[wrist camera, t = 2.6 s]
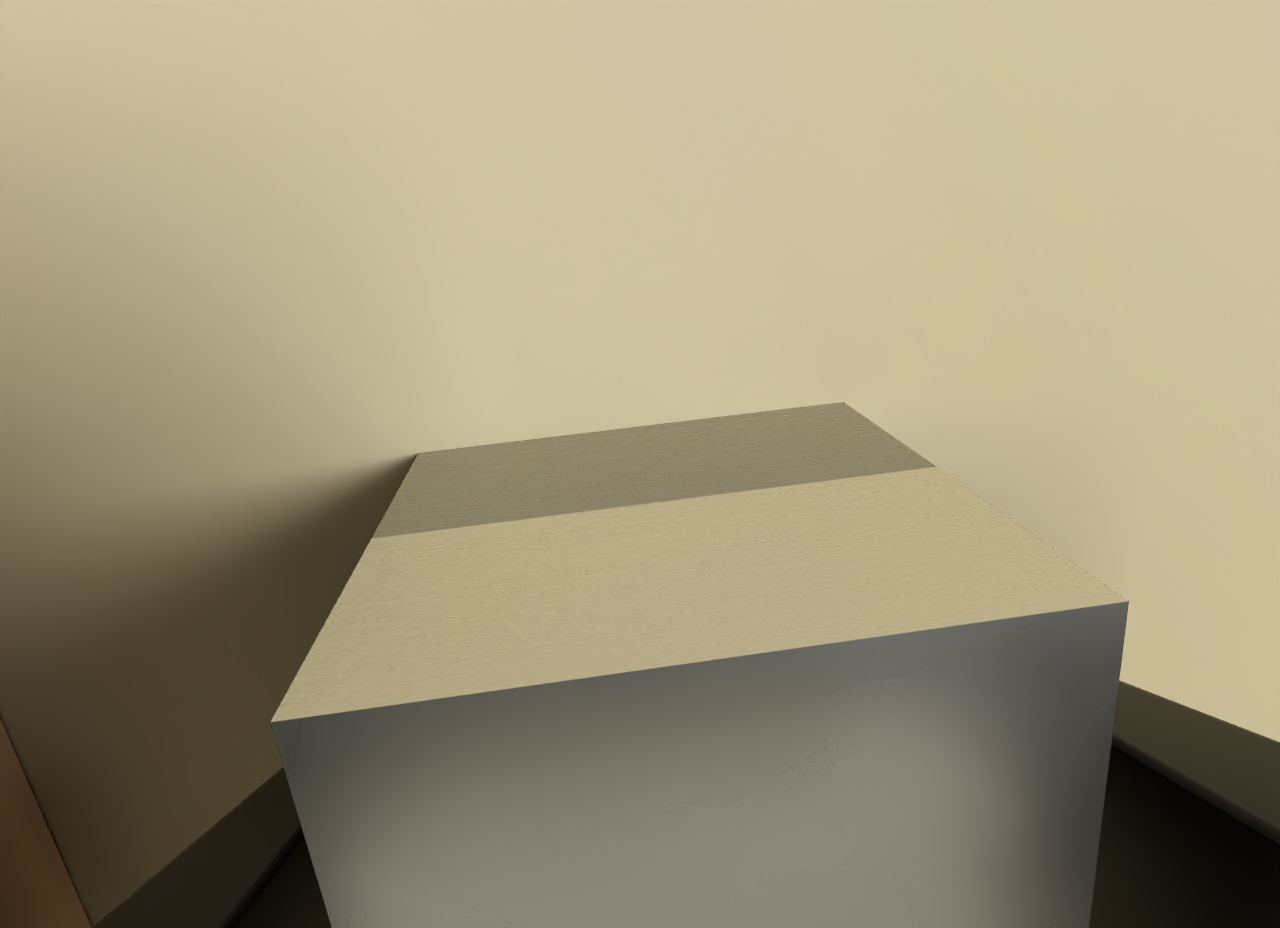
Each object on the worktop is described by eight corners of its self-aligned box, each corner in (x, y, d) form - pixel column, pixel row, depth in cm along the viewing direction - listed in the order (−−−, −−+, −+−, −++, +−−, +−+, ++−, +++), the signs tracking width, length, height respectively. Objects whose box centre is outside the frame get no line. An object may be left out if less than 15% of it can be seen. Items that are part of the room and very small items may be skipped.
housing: (840, 399, 9) (1128, 602, 5) (845, 801, 11) (1051, 1228, 7) (419, 451, 9) (269, 722, 4) (500, 853, 11) (457, 1344, 6)
